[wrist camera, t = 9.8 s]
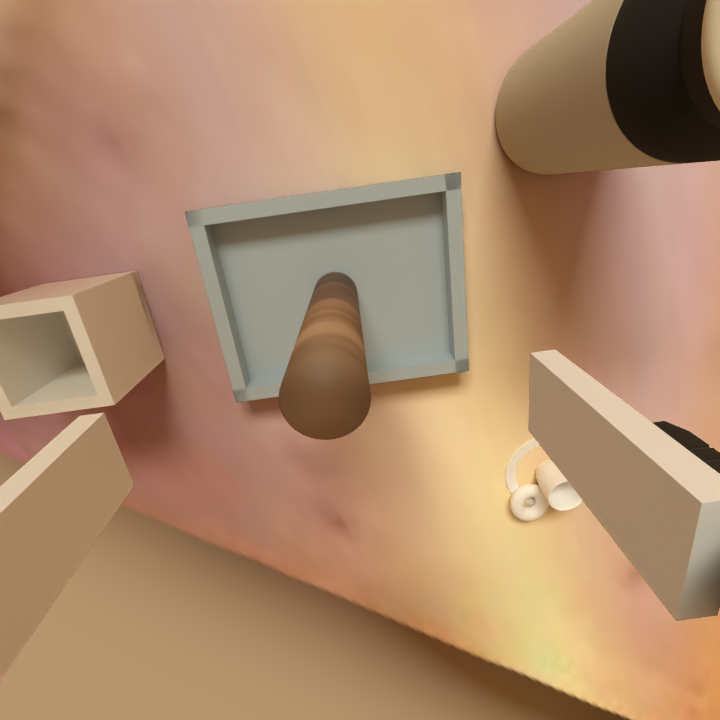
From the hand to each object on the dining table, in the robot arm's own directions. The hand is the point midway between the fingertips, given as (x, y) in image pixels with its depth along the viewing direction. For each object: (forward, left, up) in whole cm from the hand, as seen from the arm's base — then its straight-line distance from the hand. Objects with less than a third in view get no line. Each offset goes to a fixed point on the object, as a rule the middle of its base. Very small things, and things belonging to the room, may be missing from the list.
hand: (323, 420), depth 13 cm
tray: (0, 0, -21) cm, 21 cm away
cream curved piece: (+19, +14, -21) cm, 32 cm away
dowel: (0, 0, -20) cm, 20 cm away
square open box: (0, -18, -21) cm, 27 cm away
